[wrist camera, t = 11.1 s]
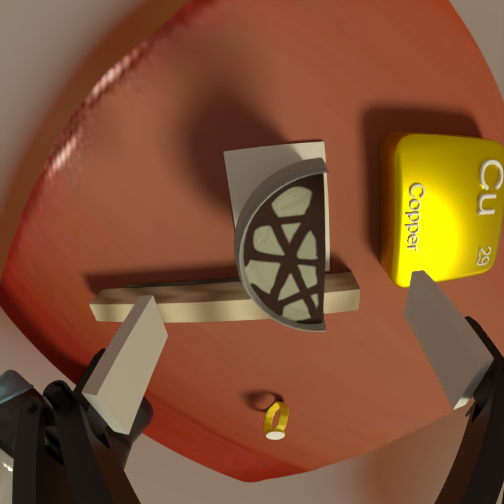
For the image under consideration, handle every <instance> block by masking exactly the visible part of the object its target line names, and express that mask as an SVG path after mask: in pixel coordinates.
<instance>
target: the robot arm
mask: <svg viewBox="0 0 504 504" xmlns="http://www.w3.org/2000/svg"><path fill="white" fill-rule="evenodd" d="M404 317H405V318H406V320H407V322H408V323H409V325H410V327H411V329H412V330H413V332H414V334H415V336H416V337H417V339H418V341H419V343H420V345H421V346H422V348H423V350H424V352H425V354H426V356H427V358H428V360H429V361H430V363H431V365H432V367H433V369H434V371H435V373H436V375H437V377H438V379H439V381H440V383H441V385H442V387H443V389H444V392H445V394H446V396H447V398H448V400H449V402H450V405H451V407H452V409H453V410H454V409H456V408H458V407H461V406H463V405H466V404H467V403H468V401H469V400H470V398H471V397H472V395H473V397H474V399H475V402H474V404H473V405H472V406H471V408H470V409H469V411H468V412H467V414H466V415H465V416H466V417H467V416H468V415H469V414H470V417H469V420H468V423H467V427H466V430H465V433H464V436H463V439H462V442H461V445H460V448H459V450H458V453H457V456H456V458H455V461H454V463H453V466H452V468H451V470H450V473H449V475H448V477H447V480H446V482H445V484H444V486H443V488H442V490H441V492H440V494H439V496H438V498H437V500H436V502H435V504H496V502H497V499H498V496H499V493H500V491H501V488H502V485H503V481H504V357H503V356H502V355H501V353H500V352H499V350H498V349H497V348H496V346H495V345H494V343H493V342H492V341H491V339H490V338H489V337H487V334H486V333H485V331H483V329H482V327H481V326H480V325H479V324H478V322H477V321H475V320H474V319H472V318H471V317H469V316H467V317H463V315H462V314H461V313H460V312H459V310H458V309H457V308H456V307H455V305H454V304H453V303H452V302H451V300H450V299H449V298H448V297H447V296H446V294H445V293H444V292H443V291H442V290H441V288H440V287H439V286H438V285H437V284H436V283H435V282H434V280H433V279H432V278H431V277H430V276H429V275H428V274H427V273H426V271H425V270H418V271H412V272H411V279H410V285H409V291H408V296H407V301H406V306H405V311H404ZM167 337H168V334H167V332H166V329H165V327H164V324H163V321H162V319H161V316H160V313H159V311H158V308H157V305H156V302H155V299H154V296H153V295H145V296H140V297H139V299H138V300H137V302H136V303H135V305H134V306H133V308H132V309H131V311H130V312H129V314H128V315H127V317H126V318H125V320H124V322H123V323H122V325H121V326H120V328H119V329H118V331H117V333H116V334H115V336H114V337H113V339H112V341H111V342H110V344H109V346H108V347H107V349H103V348H102V349H101V350H100V351H99V352H98V353H97V354H96V355H95V356H94V357H93V359H92V360H91V362H90V365H88V367H87V369H86V371H85V372H84V374H83V375H82V377H81V379H80V380H79V382H78V384H77V386H76V387H75V389H74V391H72V390H71V389H70V387H69V386H68V385H67V384H66V382H64V381H61V380H57V381H54V382H52V383H50V384H49V385H48V386H47V387H46V388H45V390H44V392H43V396H42V395H41V394H40V393H39V392H38V391H37V390H36V389H34V386H33V385H32V384H29V383H28V382H27V381H26V380H25V379H24V378H23V377H22V376H21V375H20V374H19V373H18V372H16V371H14V370H7V371H5V372H4V373H3V374H2V375H1V376H0V504H9V502H10V500H11V497H12V504H141V503H140V501H139V499H138V498H137V496H136V494H135V492H134V490H133V488H132V486H131V484H130V482H129V480H128V478H127V476H126V474H125V472H124V468H125V465H126V462H127V459H128V456H129V453H130V450H131V447H132V444H133V443H134V441H135V440H136V439H137V438H138V437H139V436H140V435H141V433H142V432H143V431H144V430H145V428H146V427H148V426H149V424H150V422H151V419H152V416H153V409H152V407H151V405H150V404H149V403H148V401H147V400H146V399H145V398H144V397H143V396H144V393H145V391H146V388H147V386H148V383H149V381H150V378H151V376H152V373H153V371H154V368H155V366H156V363H157V361H158V358H159V356H160V354H161V351H162V349H163V347H164V344H165V342H166V339H167ZM470 412H471V413H470ZM502 504H504V492H503V499H502Z"/></svg>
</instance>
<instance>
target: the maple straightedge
mask: <svg viewBox="0 0 504 504" xmlns="http://www.w3.org/2000/svg"><path fill="white" fill-rule="evenodd" d="M228 281H238V282H228ZM214 282H224V283H214ZM199 283H210V284H199ZM182 284H194V285H182ZM165 285H177V286H165ZM145 286H159V287H145ZM126 287H138V288H115V289H102V290H101V291H100V292H99V293H98V295H97V296H96V297H95V298H94V299H93V300H92V302H91V303H90V304H89V305H90V307H91V309H92V312H93V314H94V316H95V318H96V320H97V321H110V322H124V320H125V318H126V317H127V315H128V314H129V312H130V311H131V309H132V308H133V306H134V305H135V303H136V302H137V300H138V299H139V297H140V296H145V295H153V296H154V299H155V302H156V305H157V308H158V311H159V313H160V316H161V319H162V321H163V322H212V321H236V320H255V319H270V318H271V317H269V316H268V315H267V314H265V313H264V312H263V311H262V310H261V309H260V308H259V307H258V306H257V305H256V304H255V303H254V301H253V300H252V299H251V298H250V296H249V295H248V293H247V291H246V290H245V288H244V286H243V284H242V282H241V279H240V278H229V279H215V280H201V281H186V282H169V283H152V284H133V285H126ZM359 297H360V288H359V285H358V283H357V281H356V279H355V277H354V275H353V273H352V271H350V272H341V273H331V274H325V286H324V310H323V311H324V314H326V313H335V312H344V311H352V310H358V308H359Z"/></svg>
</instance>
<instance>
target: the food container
mask: <svg viewBox="0 0 504 504" xmlns="http://www.w3.org/2000/svg"><path fill="white" fill-rule="evenodd" d="M327 172H329V171H328V170H327V169H326V163H325V162H324V160H323V158H322V157H320V158H312V159H306V160H303V161H299V162H296V163H293V164H290V165H288V166H286V167H284V168H282V169H280V170H278V171H277V172H275V173H274V174H272V175H271V176H269V177H268V178H267V179H265V180H264V181H263V182H262V183H261V184H260V185H259V186H258V187H257V188H256V189H255V190H254V191H253V193H252V194H251V195H250V197H249V198H248V200H247V201H246V202H245V204H244V206H243V208H242V211H241V213H240V215H239V217H238V221H237V224H236V228H235V234H234V256H235V260H236V265H237V269H238V273H239V277H240V279H241V282H242V284H243V286H244V288H245V290H246V291H247V293H248V295H249V296H250V298H251V299H252V300H253V301H254V303H255V304H256V305H257V306H258V307H259V308H260V309H261V310H262V311H263V312H264V313H265V314H267V315H268V316H269V317H271V318H272V319H274V320H276V321H277V322H279V323H281V324H283V325H286V326H288V327H291V328H294V329H299V330H303V331H312V332H326V326H325V321H324V311H323V310H324V286H325V265H326V243H325V192H324V173H327Z"/></svg>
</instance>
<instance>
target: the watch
mask: <svg viewBox="0 0 504 504" xmlns="http://www.w3.org/2000/svg"><path fill="white" fill-rule="evenodd" d="M279 408H280V416H279V419H278V422H277V425H276V427H275V428H271V425H272V420H273V417H274V415H275V412H276V411H277V410H278V409H279ZM288 416H289V410H288V406H287V404H286V403H283V402H279V401H275V403H274V404H273V405H272V406H271V407H270V408H269V409H268V410H267V412H266V415H265V418H264V422H263V423H264V424H263V431H264V434H265V435H266V437H267V438H269V439H274V440H276V439H281V438H283V437H284V436H285V431H284V428H285V427H286V424H287V421H288Z"/></svg>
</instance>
